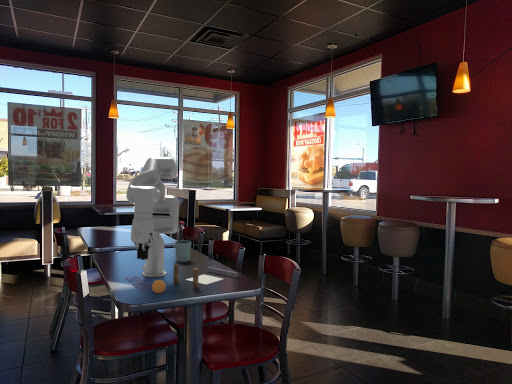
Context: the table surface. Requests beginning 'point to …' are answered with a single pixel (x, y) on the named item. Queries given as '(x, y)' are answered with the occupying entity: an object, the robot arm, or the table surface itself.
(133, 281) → the signage
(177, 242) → the pale green bucket
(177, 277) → the left post
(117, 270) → the table surface
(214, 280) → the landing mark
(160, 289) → the ball
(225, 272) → the wall
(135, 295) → the table surface
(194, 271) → the right post
